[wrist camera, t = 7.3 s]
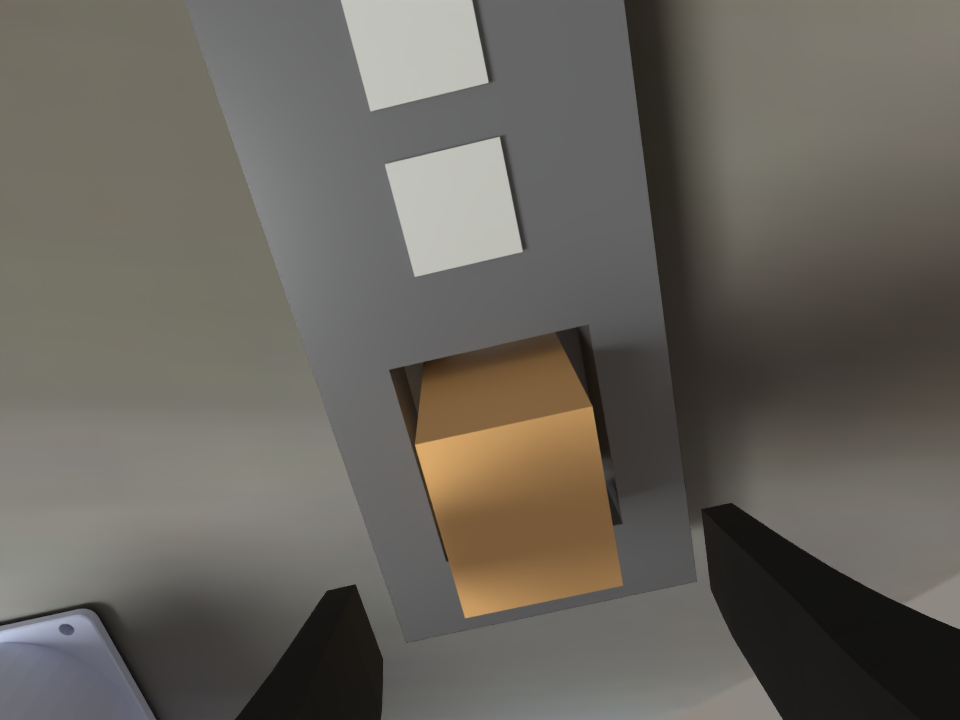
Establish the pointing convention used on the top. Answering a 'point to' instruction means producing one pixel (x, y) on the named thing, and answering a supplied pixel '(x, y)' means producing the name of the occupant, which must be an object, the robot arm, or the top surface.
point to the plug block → (516, 476)
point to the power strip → (458, 243)
